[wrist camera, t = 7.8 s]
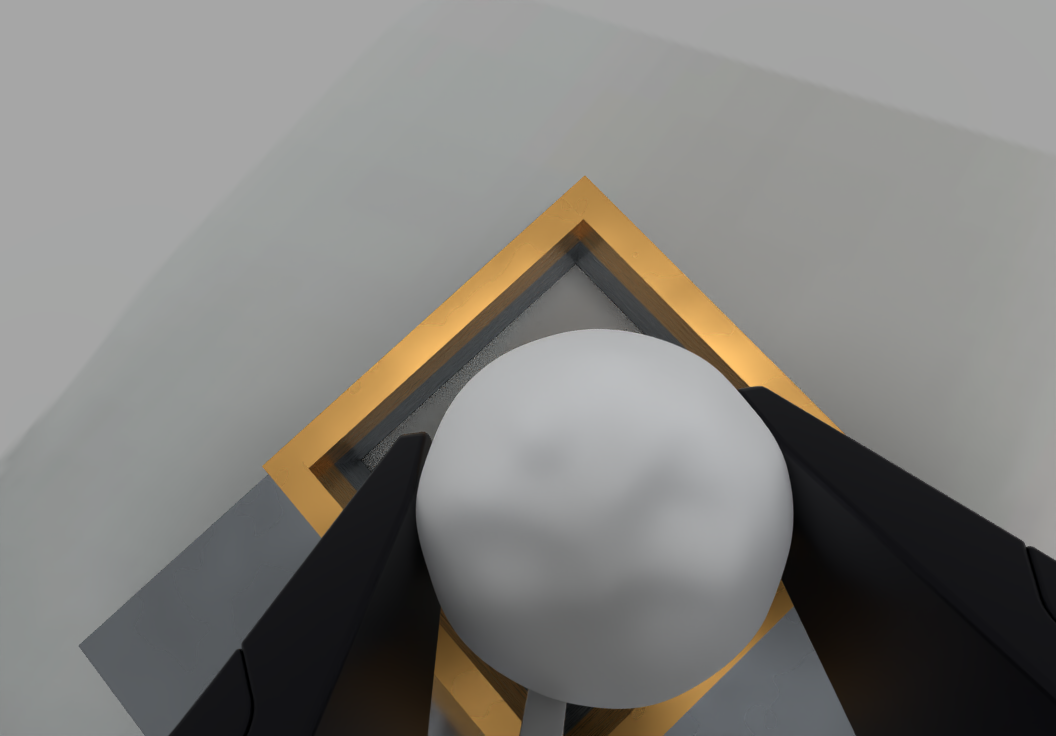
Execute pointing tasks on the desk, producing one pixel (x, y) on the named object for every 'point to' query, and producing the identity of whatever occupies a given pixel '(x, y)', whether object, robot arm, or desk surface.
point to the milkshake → (603, 521)
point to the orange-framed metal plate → (460, 675)
